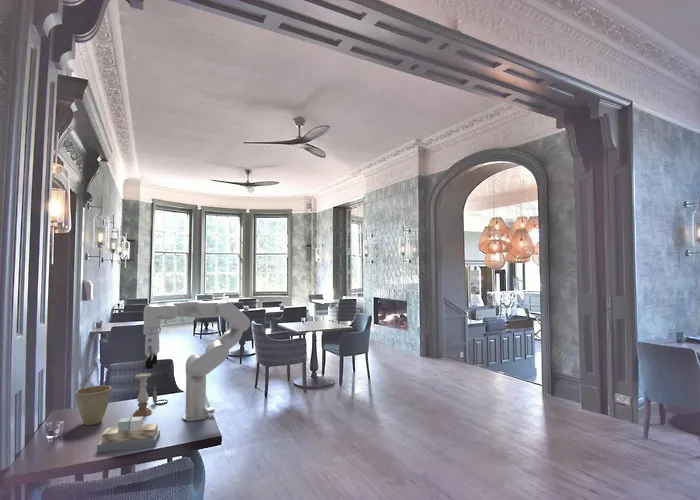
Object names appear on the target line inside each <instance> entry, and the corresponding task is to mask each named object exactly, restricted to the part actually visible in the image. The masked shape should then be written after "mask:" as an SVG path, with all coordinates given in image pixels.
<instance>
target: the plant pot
mask: <svg viewBox="0 0 700 500" xmlns="http://www.w3.org/2000/svg"><path fill="white" fill-rule="evenodd" d="M111 392H112V386H110V385H93V386H86V387H83V388H80V389H78V390H76V391H75V397H76V403H77V408H78V411H79V415H80V417H81V420H82V422H83V424H84V425H85V426H92V425H96V424H99V423H101V422H102V421H103V419H104V416H105V415H106V411H107V407H108V405H109V401H110V398H111V397H110V396H111Z"/></svg>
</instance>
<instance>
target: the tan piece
mask: <svg viewBox="0 0 700 500" xmlns="http://www.w3.org/2000/svg"><path fill="white" fill-rule="evenodd" d="M158 424H159V423H148V424H147V423H146V424H143V426H142V428H141V429H140V430H133V431H130V429H129V431H122V432H118V426H114V427H107V428H106V429H105V430H104V432H102V434H101V436H102V437H101V440H102V443H105V442H115V441H125V440H135V439H146V438H154V437H155V435H156V433H157V430H158Z"/></svg>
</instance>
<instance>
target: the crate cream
mask: <svg viewBox="0 0 700 500" xmlns="http://www.w3.org/2000/svg"><path fill="white" fill-rule="evenodd" d="M143 425H144V416H141V417H135V416H132V419H131V421H130V431H133V430H140V429H141V428H142V426H143Z"/></svg>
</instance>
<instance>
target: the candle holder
mask: <svg viewBox="0 0 700 500" xmlns="http://www.w3.org/2000/svg"><path fill="white" fill-rule="evenodd" d="M134 377H135V379H138V381H140V382H139V385H138V386H139V393H138V396H137V398H136V401H137V406H138V409H135V411H134V412H133V413H132V417H141V416H143V417H147V416H150V415H151V414H152V413H153V410H152V409H150V408H149V407H147V406H148V404H149V403H148V401H149V398H150V397H149V394H148V392H147V386H148V382H147V380H148V378H150V377H152V373H151V372H140V373H138V374H137V373H136V375H135V376H134Z"/></svg>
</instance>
